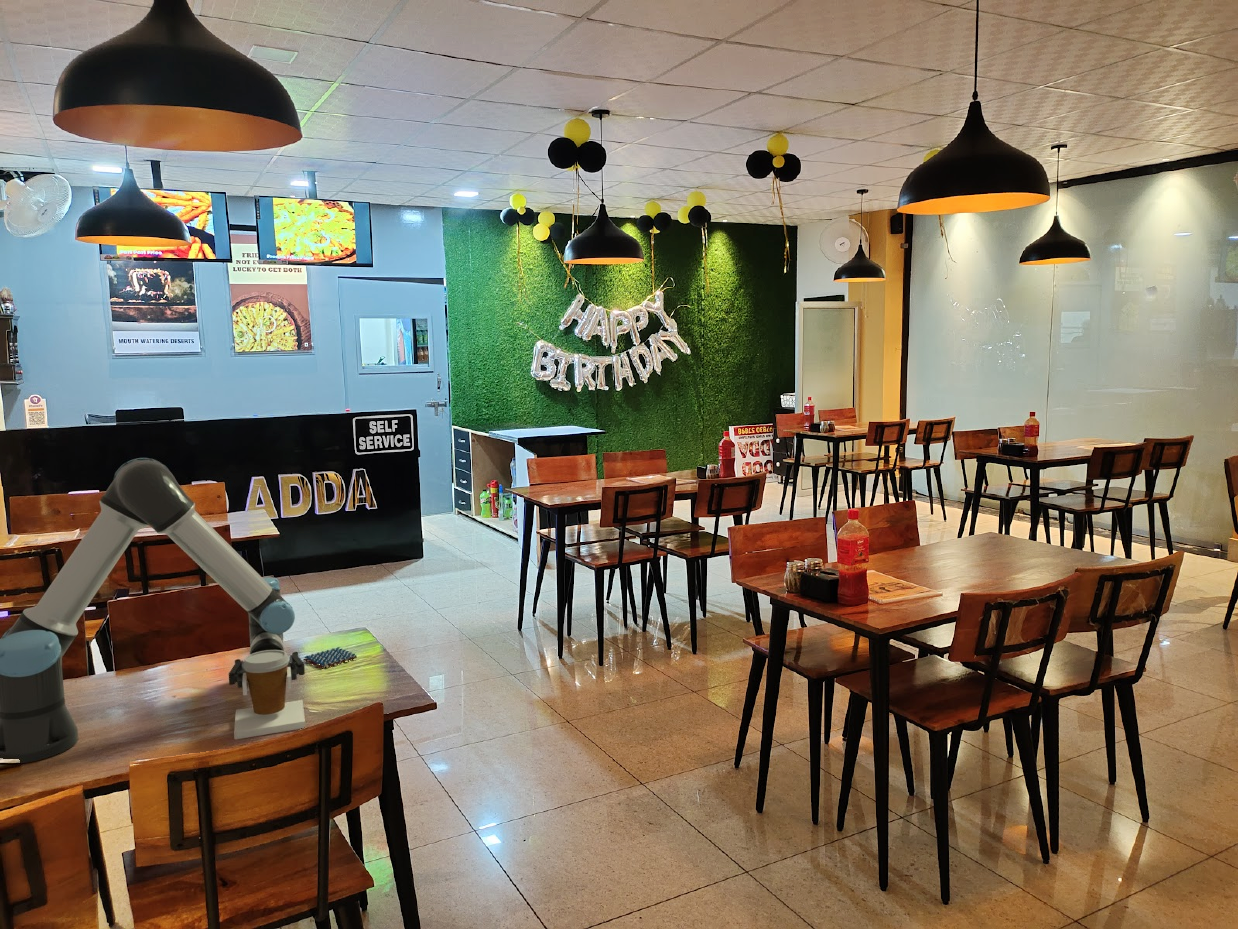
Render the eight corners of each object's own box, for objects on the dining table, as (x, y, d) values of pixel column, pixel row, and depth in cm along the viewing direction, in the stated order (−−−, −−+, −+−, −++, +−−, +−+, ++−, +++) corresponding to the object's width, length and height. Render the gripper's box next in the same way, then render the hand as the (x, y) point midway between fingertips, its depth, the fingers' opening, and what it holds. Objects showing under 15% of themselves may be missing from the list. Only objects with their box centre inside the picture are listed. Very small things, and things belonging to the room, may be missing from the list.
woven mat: (301, 663, 228) (301, 656, 228) (338, 653, 236) (338, 646, 236) (321, 672, 221) (321, 665, 221) (358, 661, 229) (358, 654, 228)
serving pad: (234, 739, 181) (234, 732, 181) (236, 716, 193) (235, 710, 193) (305, 728, 186) (305, 721, 186) (302, 706, 198) (302, 699, 198)
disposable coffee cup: (276, 719, 184) (272, 665, 182) (236, 716, 186) (232, 662, 184) (301, 702, 193) (298, 650, 192) (262, 699, 195) (259, 648, 193)
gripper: (314, 662, 209) (320, 695, 188) (219, 675, 201) (214, 710, 181) (312, 632, 208) (318, 661, 188) (217, 643, 201) (211, 676, 180)
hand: (267, 685), depth 184 cm, fingers closed on disposable coffee cup, 8 cm apart
